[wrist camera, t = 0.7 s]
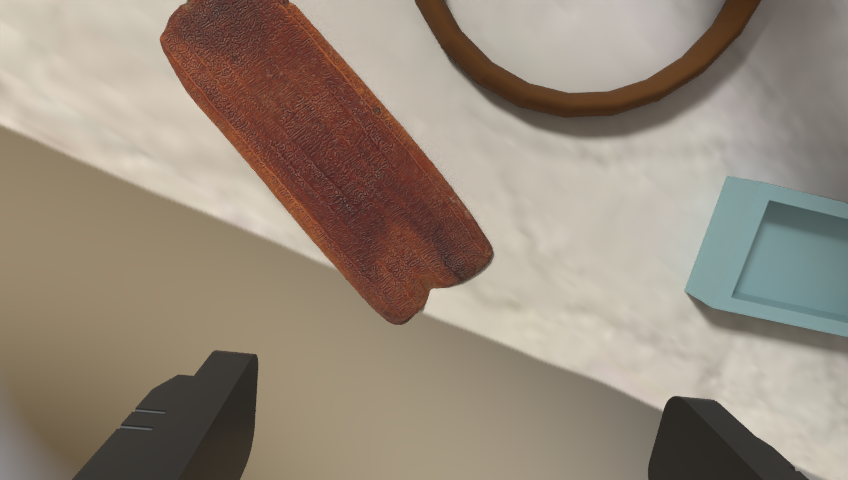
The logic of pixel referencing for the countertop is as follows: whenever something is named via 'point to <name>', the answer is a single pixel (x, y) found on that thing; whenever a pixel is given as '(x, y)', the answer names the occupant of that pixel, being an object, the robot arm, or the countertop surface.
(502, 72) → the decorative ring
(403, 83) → the countertop surface
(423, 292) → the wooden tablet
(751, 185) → the light blue rectangular tray
